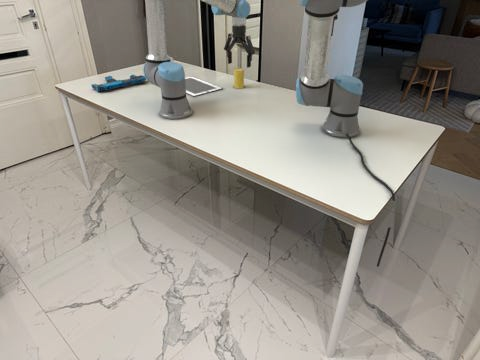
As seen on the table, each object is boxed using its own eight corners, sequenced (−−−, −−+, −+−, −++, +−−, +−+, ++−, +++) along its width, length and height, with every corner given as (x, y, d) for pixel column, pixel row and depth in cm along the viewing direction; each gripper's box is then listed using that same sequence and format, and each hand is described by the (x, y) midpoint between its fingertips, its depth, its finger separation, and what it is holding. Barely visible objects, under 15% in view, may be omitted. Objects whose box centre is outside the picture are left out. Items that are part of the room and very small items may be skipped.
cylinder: (242, 85, 205) (242, 68, 199) (244, 87, 200) (245, 70, 194) (233, 85, 203) (233, 68, 198) (235, 88, 199) (235, 71, 193)
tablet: (164, 83, 207) (164, 82, 207) (191, 76, 218) (191, 76, 218) (193, 96, 187) (193, 95, 187) (222, 88, 198) (222, 88, 198)
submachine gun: (137, 69, 223) (155, 75, 206) (138, 75, 225) (156, 81, 208) (84, 79, 204) (99, 87, 188) (85, 85, 206) (101, 94, 190)
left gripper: (262, 26, 179) (260, 67, 191) (225, 22, 192) (226, 60, 203) (253, 28, 174) (253, 70, 186) (216, 23, 187) (218, 63, 198)
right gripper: (310, -20, 159) (306, 29, 171) (333, -17, 139) (326, 38, 150) (325, -20, 160) (320, 28, 172) (350, -17, 140) (342, 38, 152)
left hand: (239, 65), depth 195 cm, fingers open, 13 cm apart
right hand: (323, 33), depth 161 cm, fingers open, 13 cm apart
